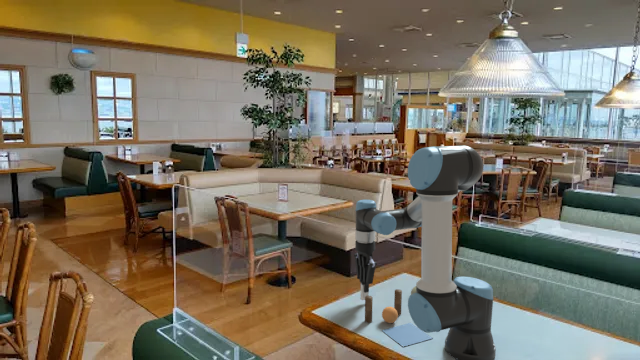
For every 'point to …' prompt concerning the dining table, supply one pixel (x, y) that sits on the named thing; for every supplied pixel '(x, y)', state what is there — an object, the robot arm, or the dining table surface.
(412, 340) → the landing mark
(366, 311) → the post left
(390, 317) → the ball
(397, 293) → the post right
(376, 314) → the dining table surface
